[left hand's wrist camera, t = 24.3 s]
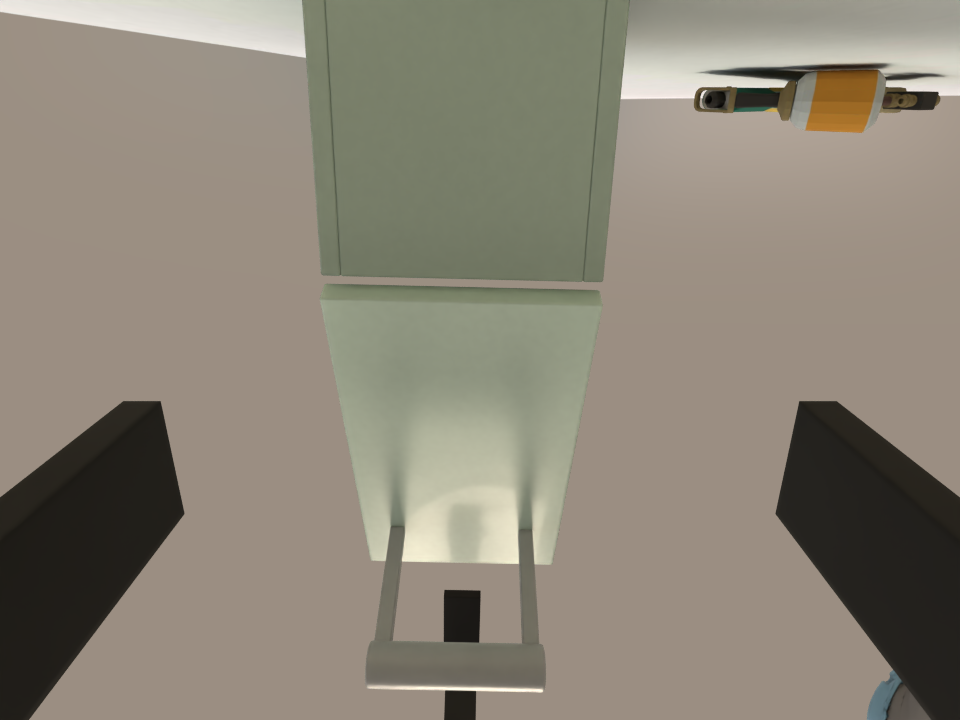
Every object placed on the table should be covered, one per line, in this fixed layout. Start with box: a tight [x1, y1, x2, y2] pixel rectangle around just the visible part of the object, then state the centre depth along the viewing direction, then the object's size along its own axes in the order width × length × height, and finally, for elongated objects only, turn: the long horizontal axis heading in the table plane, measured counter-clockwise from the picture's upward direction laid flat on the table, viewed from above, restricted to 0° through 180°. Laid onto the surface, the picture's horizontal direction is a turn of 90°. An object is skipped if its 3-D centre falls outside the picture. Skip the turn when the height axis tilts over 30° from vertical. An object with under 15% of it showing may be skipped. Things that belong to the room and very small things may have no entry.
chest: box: [302, 0, 630, 282], centre depth 27 cm, size 17×10×10 cm, turn 0°
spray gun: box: [694, 70, 940, 133], centre depth 50 cm, size 4×17×15 cm
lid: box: [320, 284, 603, 692], centre depth 24 cm, size 17×10×8 cm
